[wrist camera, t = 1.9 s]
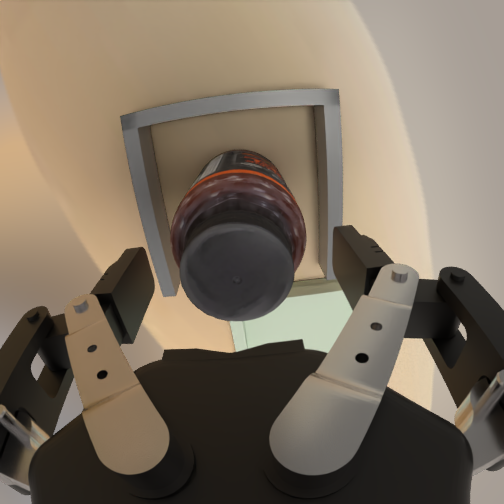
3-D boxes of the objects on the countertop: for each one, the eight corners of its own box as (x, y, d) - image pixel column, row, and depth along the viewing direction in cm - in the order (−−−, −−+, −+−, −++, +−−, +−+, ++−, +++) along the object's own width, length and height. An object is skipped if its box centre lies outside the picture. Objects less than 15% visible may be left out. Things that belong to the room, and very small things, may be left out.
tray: (227, 288, 24) (226, 303, 22) (368, 272, 23) (377, 285, 22) (244, 378, 29) (244, 392, 27) (353, 363, 29) (358, 376, 27)
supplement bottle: (299, 180, 20) (359, 260, 10) (250, 243, 22) (258, 362, 12) (228, 130, 18) (210, 156, 8) (181, 201, 20) (127, 297, 10)
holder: (134, 114, 17) (120, 116, 15) (326, 91, 17) (338, 89, 14) (169, 278, 23) (163, 296, 21) (330, 261, 23) (339, 278, 20)
